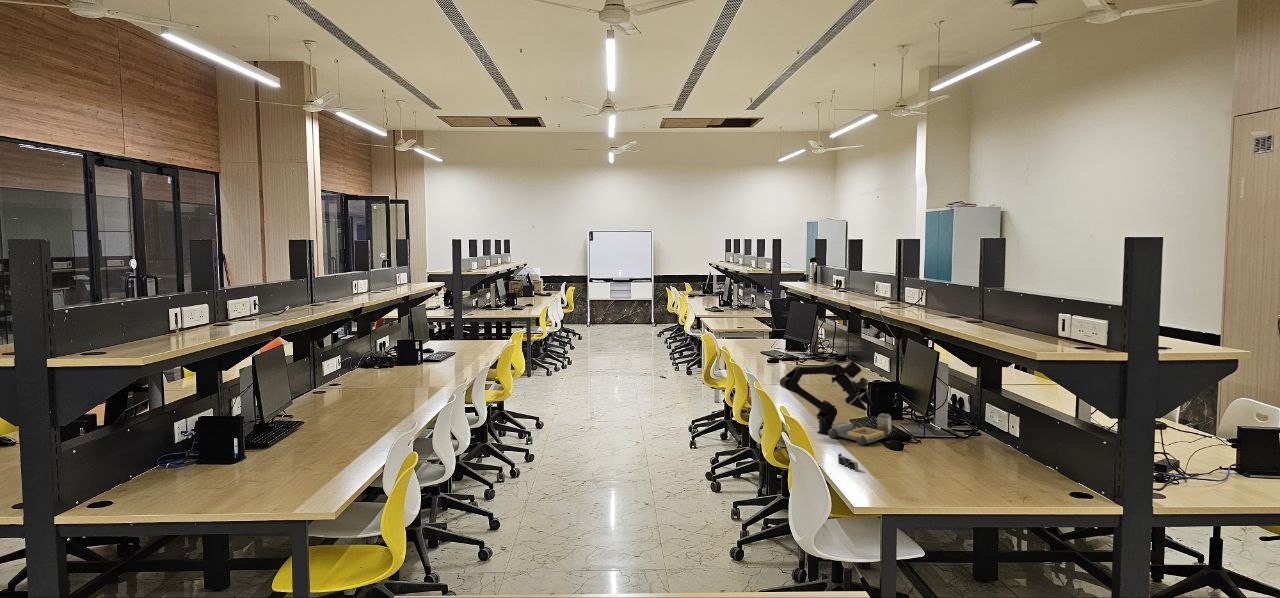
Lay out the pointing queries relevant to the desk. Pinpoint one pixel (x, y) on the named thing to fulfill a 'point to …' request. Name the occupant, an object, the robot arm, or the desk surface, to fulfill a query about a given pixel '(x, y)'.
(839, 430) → the truck
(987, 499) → the desk surface
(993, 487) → the desk surface
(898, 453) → the desk surface
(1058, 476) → the desk surface
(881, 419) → the grey block
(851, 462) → the graphics card
